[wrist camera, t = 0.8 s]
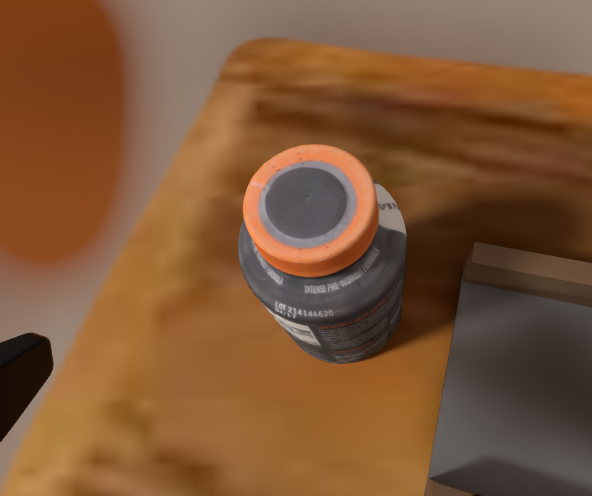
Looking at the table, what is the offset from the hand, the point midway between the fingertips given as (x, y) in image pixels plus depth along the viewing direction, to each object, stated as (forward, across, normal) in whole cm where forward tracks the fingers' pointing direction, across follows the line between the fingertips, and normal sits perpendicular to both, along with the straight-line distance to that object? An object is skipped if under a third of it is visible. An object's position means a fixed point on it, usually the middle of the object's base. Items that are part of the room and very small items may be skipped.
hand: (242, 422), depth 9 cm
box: (+11, -12, +6) cm, 17 cm away
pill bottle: (+13, -1, +6) cm, 15 cm away
